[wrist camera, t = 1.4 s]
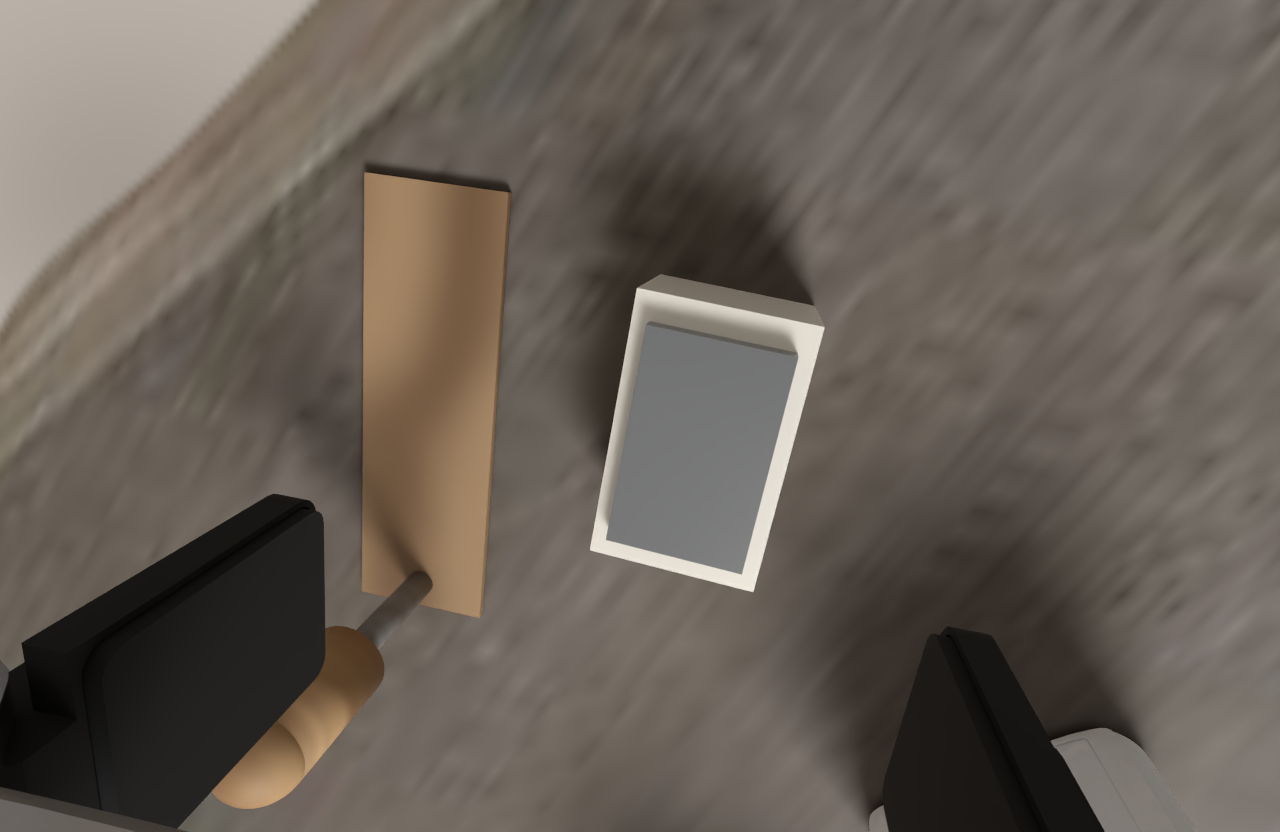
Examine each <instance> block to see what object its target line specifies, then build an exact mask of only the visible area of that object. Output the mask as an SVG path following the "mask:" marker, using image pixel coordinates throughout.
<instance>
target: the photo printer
mask: <svg viewBox="0 0 1280 832" xmlns="http://www.w3.org/2000/svg"><path fill="white" fill-rule="evenodd" d="M1051 742H1052V744H1053V746H1054V748H1056V749H1057V750H1058V751H1059V753H1060V754H1061V755H1062V757H1063V758H1064V760H1065V762H1066V763H1067V765H1068V767H1069V769H1070V770H1071V772H1072V774H1073V776H1074V777H1075V779H1076V781H1077V783H1078V785H1079V786H1080V788H1081V790H1082V792H1083V793H1084V795H1085V797H1086V799H1087V801H1088V802H1089V804H1090V806H1091V808H1092V809H1093V811H1094V813H1095V815H1096V817H1097V818H1098V820H1099V822H1100V824H1101V825H1102V827H1103V829H1104V831H1105V832H1199V831H1198V830H1197V828H1196V827H1195V825H1194V824H1193V822H1192V821H1191V819H1190V818H1189V816H1188V815H1187V813H1186V812H1185V810H1184V809H1183V808H1182V806H1181V805H1180V803H1179V802H1178V800H1177V799H1176V797H1175V796H1174V794H1173V793H1172V791H1171V790H1170V788H1169V787H1168V785H1167V784H1166V782H1165V781H1164V779H1163V778H1162V776H1161V775H1160V773H1159V772H1158V770H1157V769H1156V767H1155V766H1154V765H1153V763H1152V762H1151V760H1150V759H1149V757H1148V756H1147V754H1146V753H1145V752H1144V751H1143V750H1142V749H1141V748H1140V747H1139V746H1138V745H1137V744H1136V743H1134V742H1133V741H1132V740H1130V739H1128V738H1127V737H1125V736H1123V735H1121V734H1118V733H1116V732H1113V731H1112V730H1110V729H1107V728H1096V729H1091V730H1086V731H1082V732H1077V733H1074V734H1070V735H1066V736H1064V737H1061V738H1057V739H1054V740H1051ZM869 828H870V832H889V831H888V826H887V821H886V817H885V812H884V807H883V805H882V806H881V807H879V808H877V809H876V810H875V811H873V812H872V814H871V815H870V817H869Z"/></svg>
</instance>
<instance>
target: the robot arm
mask: <svg viewBox="0 0 1280 832" xmlns="http://www.w3.org/2000/svg"><path fill="white" fill-rule="evenodd" d="M22 649H23V654H24V660H25V662H24V663H23V664H21V665H20V666H18V667H16V668H15V669H13V670H12V671H10V672H9V669H8V668H7V666H6V665H5V664H4V663H3V662H2V661H1V660H0V832H187V831H183V830H179V829H177V828H178V827H179V826H180V825H181V824H182V823H183V822H184V821H185V819H186V818H187V817H188V816H189V815H190V814H191V813H192V812H193V811H194V810H195V809H196V808H197V806H198V805H199V804H200V803H201V802H202V801H203V800H204V799H205V798H206V797H207V796H208V795H209V794H210V792H211V791H212V790H213V789H214V788H215V787H216V786H217V785H218V784H219V783H220V782H221V781H222V779H223V778H224V777H225V776H226V775H227V774H228V773H229V772H230V771H231V770H232V769H233V768H234V767H235V765H236V764H237V763H238V762H239V761H240V760H241V759H242V758H243V757H244V756H245V755H246V754H247V752H248V751H249V750H250V749H251V748H252V747H253V746H254V745H255V744H256V743H257V742H258V741H259V740H260V738H261V737H262V736H263V735H264V734H265V733H266V732H267V731H268V730H269V729H270V728H271V727H272V726H273V724H274V723H275V722H276V721H277V720H278V719H279V718H280V717H281V716H282V715H283V714H284V713H285V711H286V710H287V709H288V708H289V707H290V706H291V705H292V704H293V703H294V702H295V701H296V700H297V699H298V697H299V696H300V695H301V694H302V693H303V692H304V691H305V690H306V689H307V688H308V687H309V686H310V684H311V683H312V682H313V681H314V680H315V679H316V678H317V676H318V675H319V673H320V671H321V669H322V667H323V664H324V660H325V585H324V522H323V517H322V514H321V513H319V512H317V511H316V510H315V507H314V505H313V503H312V502H311V501H309V500H304V499H299V498H294V497H289V496H284V495H279V494H272V495H269V496H267V497H265V498H264V499H262V500H260V501H259V502H257V503H255V504H254V505H252V506H250V507H249V508H247V509H245V510H244V511H242V512H240V513H239V514H237V515H235V516H234V517H232V518H230V519H229V520H227V521H225V522H224V523H222V524H220V525H218V526H217V527H215V528H213V529H212V530H210V531H208V532H207V533H205V534H203V535H202V536H200V537H198V538H197V539H195V540H193V541H192V542H190V543H188V544H187V545H185V546H183V547H182V548H180V549H178V550H177V551H175V552H173V553H172V554H170V555H168V556H166V557H165V558H163V559H161V560H160V561H158V562H156V563H155V564H153V565H151V566H150V567H148V568H146V569H145V570H143V571H141V572H140V573H138V574H136V575H135V576H133V577H131V578H130V579H128V580H126V581H125V582H123V583H121V584H120V585H118V586H116V587H115V588H113V589H111V590H109V591H108V592H106V593H104V594H103V595H101V596H99V597H98V598H96V599H94V600H93V601H91V602H89V603H88V604H86V605H84V606H83V607H81V608H79V609H78V610H76V611H74V612H73V613H71V614H69V615H68V616H66V617H64V618H63V619H61V620H59V621H57V622H56V623H54V624H52V625H51V626H49V627H47V628H46V629H44V630H42V631H41V632H39V633H37V634H36V635H34V636H32V637H31V638H29V639H27V640H26V641H24V642H22ZM883 807H884V812H885V817H886V821H887V826H888V831H889V832H1105V831H1104V829H1103V827H1102V825H1101V824H1100V822H1099V820H1098V818H1097V817H1096V815H1095V813H1094V811H1093V809H1092V808H1091V806H1090V804H1089V802H1088V801H1087V799H1086V797H1085V795H1084V793H1083V792H1082V790H1081V788H1080V786H1079V785H1078V783H1077V781H1076V779H1075V777H1074V776H1073V774H1072V772H1071V770H1070V769H1069V767H1068V765H1067V763H1066V762H1065V760H1064V758H1063V757H1062V755H1061V754H1060V753H1059V751H1058V750H1057V749H1056V748H1054V746H1053V744H1052V742H1051V741H1050V739H1049V737H1048V735H1047V733H1046V732H1045V730H1044V728H1043V726H1042V724H1041V723H1040V721H1039V719H1038V717H1037V716H1036V714H1035V712H1034V710H1033V708H1032V707H1031V705H1030V703H1029V701H1028V699H1027V698H1026V696H1025V694H1024V692H1023V690H1022V689H1021V687H1020V685H1019V683H1018V681H1017V680H1016V678H1015V676H1014V674H1013V672H1012V671H1011V669H1010V667H1009V665H1008V663H1007V662H1006V660H1005V658H1004V656H1003V654H1002V653H1001V651H1000V649H999V647H998V645H997V644H996V642H995V640H994V639H993V638H992V636H991V635H988V634H983V633H978V632H973V631H968V630H963V629H958V628H953V627H947V628H945V629H944V631H943V632H942V634H941V635H936V634H932V635H930V636H929V638H928V640H927V642H926V645H925V648H924V652H923V655H922V658H921V662H920V665H919V668H918V671H917V675H916V678H915V681H914V684H913V688H912V691H911V694H910V698H909V701H908V704H907V707H906V711H905V714H904V717H903V721H902V724H901V727H900V730H899V734H898V737H897V740H896V744H895V747H894V750H893V753H892V757H891V760H890V763H889V766H888V770H887V773H886V776H885V780H884V786H883Z"/></svg>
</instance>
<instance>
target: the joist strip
mask: <svg viewBox="0 0 1280 832" xmlns="http://www.w3.org/2000/svg"><path fill="white" fill-rule="evenodd" d="M511 194H512V193H510V192H503V191H496V190H489V189H482V188H474V187H467V186H460V185H453V184H446V183H439V182H432V181H425V180H417V179H410V178H403V177H396V176H389V175H382V174H375V173H367V172H364V318H363V482H362V591H363V592H367V593H371V594H376V595H380V596H385V597H389V596H390V595H391V594H392V593H393V592H394V591H395V590H396V589H397V588H398V587H399V586H400V585H401V584H402V583H403V582H404V581H405V580H406V579H407V578H408V577H409V576H410V575H411V574H412V573H413V572H416V571H421V572H424V573H426V574H427V575H429V577H430V578H431V580H432V583H433V587H432V589H431V591H430V592H429V593H428V594H427V595H426V596H425V598H424V599H423V600H422V601H421V602H420V603H419V604H420V605H424V606H429V607H433V608H438V609H442V610H446V611H451V612H455V613H460V614H464V615H469V616H473V617H477V618H480V617H481V615H482V614H483V600H484V585H485V571H486V556H487V542H488V527H489V513H490V498H491V484H492V469H493V455H494V440H495V426H496V411H497V397H498V382H499V368H500V353H501V339H502V324H503V310H504V295H505V281H506V266H507V252H508V237H509V223H510V208H511Z"/></svg>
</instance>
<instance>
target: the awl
mask: <svg viewBox="0 0 1280 832" xmlns="http://www.w3.org/2000/svg"><path fill="white" fill-rule="evenodd" d="M432 587H433V583H432V580H431V578H430V577H429V575H427V574H426V573H424V572H421V571H416V572H413V573H412V574H411V575H410V576H409V577H408V578H407V579H406V580H405V581H404V582H403V583H402V584H401V585H400V586H399V587H398V588H397V589H396V590H395V591H394V592H393V593H392V594H391V595H390V596H389V597H388V598H387V599H386V600H385V601H384V602H383V603H382V604H381V605H380V606H379V607H378V608H377V609H376V610H375V611H374V612H373V613H372V614H371V615H370V616H369V618H368V619H367V620H366V621H365V622H364V623H363V624H362V625H361V626H360V627H359V628H358V629H357V630H354V629H351V628H348V627H343V626H333V627H328V628H326V629H325V660H324V664H323V667H322V669H321V671H320V673H319V675H318V676H317V678H316V679H315V680H314V681H313V682H312V683H311V684H310V686H309V687H308V688H307V689H306V690H305V691H304V692H303V693H302V694H301V695H300V696H299V697H298V699H297V700H296V701H295V702H294V703H293V704H292V705H291V706H290V707H289V708H288V709H287V710H286V711H285V713H284V714H283V715H282V716H281V717H280V718H279V719H278V720H277V721H276V722H275V723H274V724H273V726H272V727H271V728H270V729H269V730H268V731H267V732H266V733H265V734H264V735H263V736H262V737H261V738H260V740H259V741H258V742H257V743H256V744H255V745H254V746H253V747H252V748H251V749H250V750H249V751H248V752H247V754H246V755H245V756H244V757H243V758H242V759H241V760H240V761H239V762H238V763H237V764H236V765H235V767H234V768H233V769H232V770H231V771H230V772H229V773H228V774H227V775H226V776H225V777H224V778H223V779H222V781H221V782H220V783H219V784H218V785H217V786H216V787H215V788H214V789H213V790H212V793H213V794H214V795H215V796H216V797H217V798H218V799H219V800H221V801H222V802H224V803H225V804H228V805H230V806H233V807H236V808H243V809H252V808H259V807H263V806H266V805H269V804H272V803H274V802H276V801H278V800H280V799H281V798H283V797H284V796H286V795H287V794H288V793H290V792H291V791H292V790H293V789H294V788H295V787H296V786H297V785H298V784H299V783H300V781H301V780H302V779H303V778H304V777H305V775H306V774H307V773H308V772H309V770H310V769H311V768H312V767H313V766H314V764H315V763H316V762H317V761H318V760H319V758H320V757H321V756H322V755H323V753H324V752H325V751H326V750H327V749H328V747H329V746H330V745H331V744H332V742H333V741H334V740H335V739H336V738H337V736H338V735H339V734H340V733H341V731H342V730H343V729H344V728H345V727H346V725H347V724H348V723H349V722H350V721H351V719H352V718H353V717H354V716H355V714H356V713H357V712H358V711H359V710H360V708H361V707H362V706H363V705H364V703H365V702H366V701H367V700H368V699H369V697H370V696H371V695H372V694H373V692H374V691H375V690H376V689H377V688H378V686H379V685H380V684H381V682H382V680H383V676H384V663H383V659H382V656H381V654H380V652H379V650H378V649H379V648H380V647H381V646H382V645H383V644H384V643H385V641H386V640H387V639H388V638H389V637H390V636H391V635H392V634H393V632H394V631H395V630H396V629H397V628H398V627H399V626H400V625H401V623H402V622H403V621H404V620H405V619H406V618H407V617H408V616H409V614H410V613H411V612H412V611H413V610H414V609H415V608H416V607H417V605H418V604H419V603H420V602H421V601H422V600H423V599H424V598H425V596H426V595H427V594H428V593H429V592H430V591H431V589H432Z"/></svg>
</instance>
